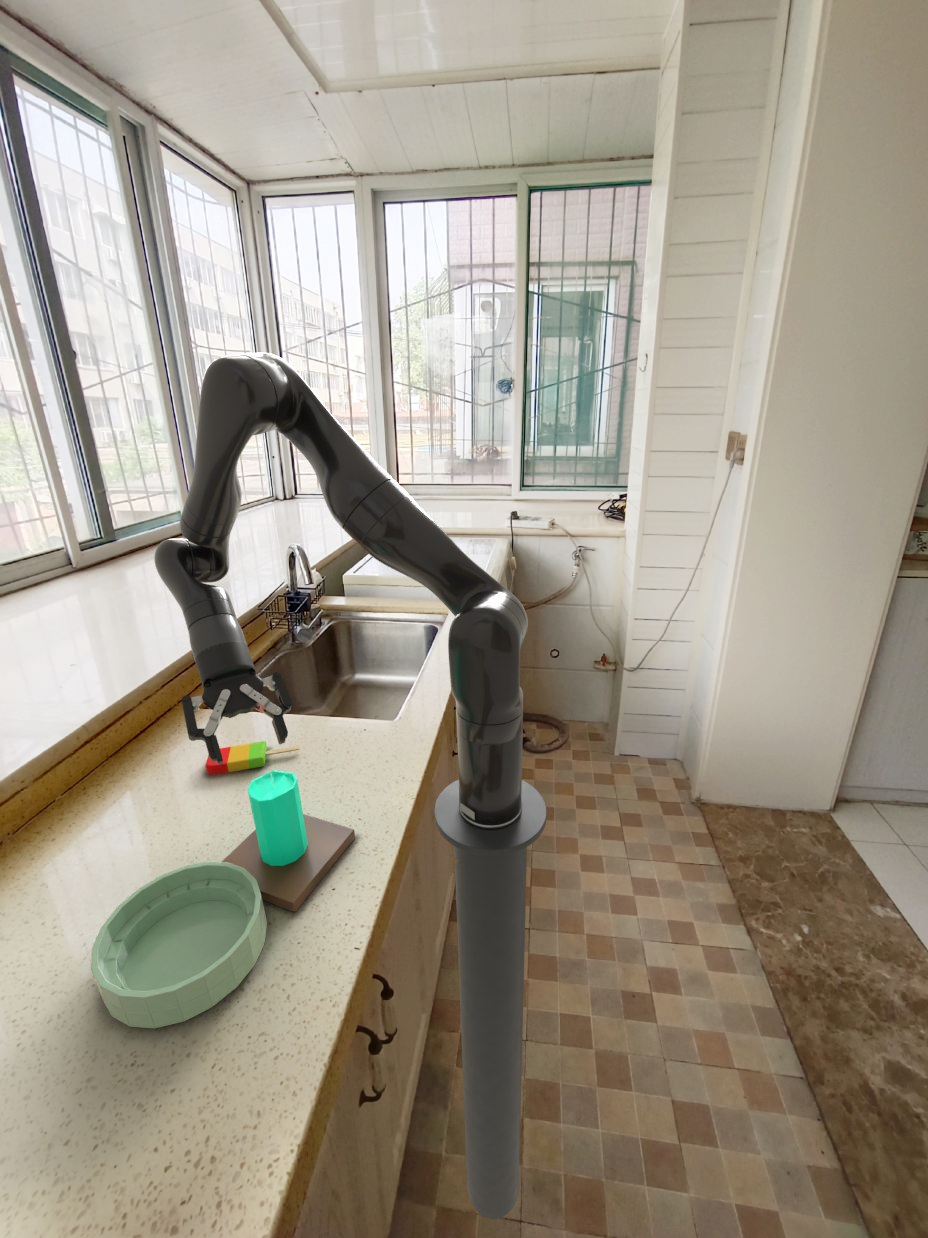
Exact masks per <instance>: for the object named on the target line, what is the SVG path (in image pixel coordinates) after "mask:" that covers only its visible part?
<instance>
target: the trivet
mask: <svg viewBox="0 0 928 1238" xmlns="http://www.w3.org/2000/svg"><path fill="white" fill-rule="evenodd" d="M303 818H304V824H305V830H306V836H307V842H308V845H307V847H306V850H305V853H304V854H303V855H302V856H301V857H299V858H298V859H297V860H296V861H294V862H292V863H289V864H287V865H284V866H271V865H269V864H267V863H265V862H263V860H262V856H261V853H260V848H259V843H258V838H257V833H256V829H254V831H252V832H251V833H249V835H248V836H247V837H246V838H245V839H244V840H243V841H242V842H241V843H240V844H238V846H236V847H235V849H233V850H232V851H231V852H230V853H229V854H228V855H227V856H226V857H225V858H224V859H223V860H222V861H221V862H228V863H231V864H234V865H237V866H239V867H242V868H245V869H246V870H247V871H248V872H249V873H250V874H251V875H252V876H253V877H254V878H255V879H256V880H257V883H258V886H259V890H260V893H261V896H262V901H263V902H267V903H269V904H272V905H274V906H277V907H279V908H283V909H285V910H287V911H290V912H292V913H296V912H297V911H298V910H299V908H300V907H301V906H302V905H303V903H304V902H305V901H306V899H308V897H309V896H310V895H311V893H312V892H313V891H314V890H315V889H316V887H317V886H318V885H319V883H320V882H321V881H322V880H323V879H324V877H325V876H326V875H327V874H328V872H329V871H330V870H331V868H332V867H333V866H334V865H335V864H336V862H337V861H338V860H339V858H340V857H341V856H342V855H343V854H344V853H345V851H346V850H347V849H348V848H349V846H350V845H351V844H352V842H353V841H354V840H355V839H356V832H355V829H354V828H352V827H351V828H350V827H348V826H345V825H341V824H337V823H335V822H332V821H329V820H324V819H321V818H318V817H315V816H311V815H308V814H305V813H303Z"/></svg>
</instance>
